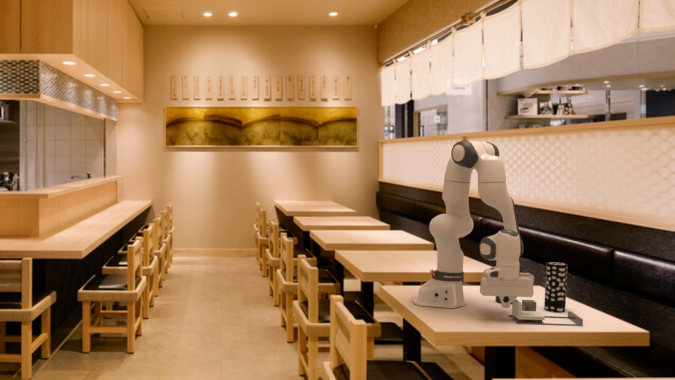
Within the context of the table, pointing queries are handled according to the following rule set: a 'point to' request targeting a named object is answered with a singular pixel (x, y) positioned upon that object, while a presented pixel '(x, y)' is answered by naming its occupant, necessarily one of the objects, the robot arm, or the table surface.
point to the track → (571, 316)
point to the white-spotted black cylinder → (555, 287)
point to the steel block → (528, 305)
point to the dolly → (525, 313)
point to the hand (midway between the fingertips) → (505, 307)
